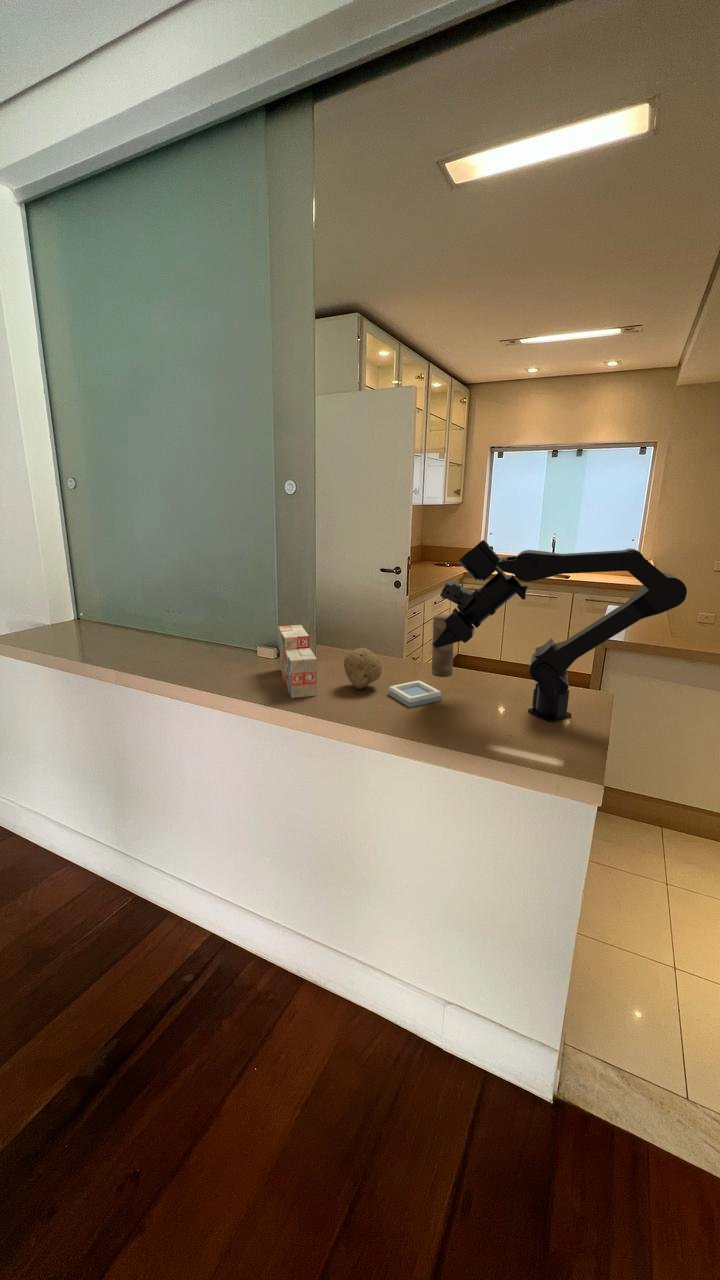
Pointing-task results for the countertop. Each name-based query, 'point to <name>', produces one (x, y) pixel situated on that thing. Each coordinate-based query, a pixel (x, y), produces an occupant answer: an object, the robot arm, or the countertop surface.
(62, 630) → the countertop surface
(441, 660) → the walnut column
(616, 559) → the robot arm
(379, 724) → the countertop surface
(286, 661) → the stack of blocks
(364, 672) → the natural sponge
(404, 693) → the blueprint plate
